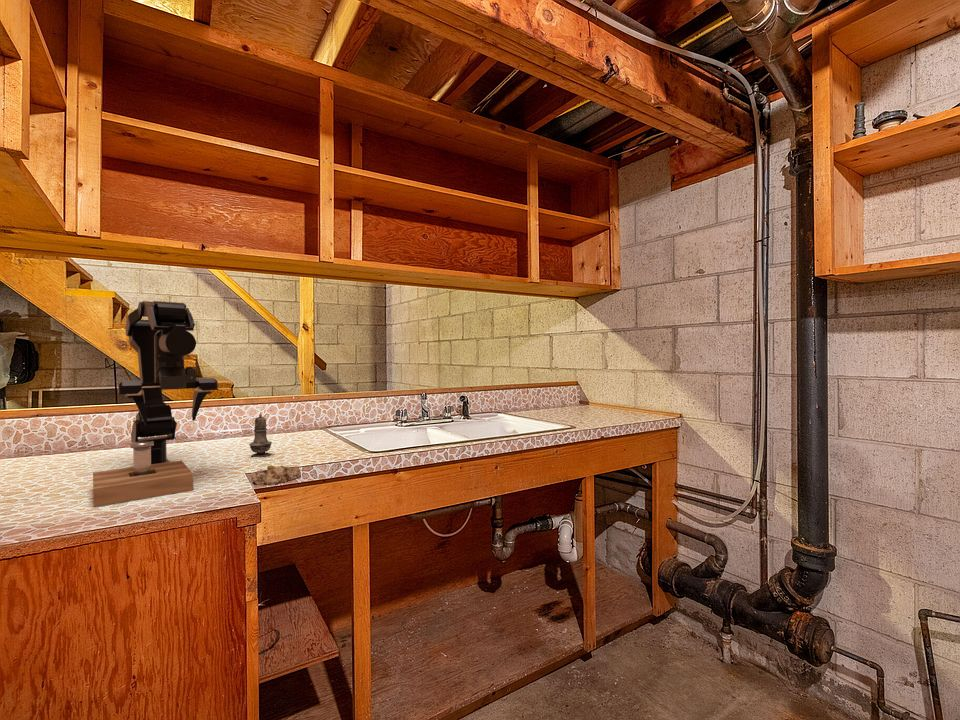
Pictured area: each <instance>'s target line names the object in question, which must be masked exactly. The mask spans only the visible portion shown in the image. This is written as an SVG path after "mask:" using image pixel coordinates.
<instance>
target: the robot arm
mask: <svg viewBox="0 0 960 720" xmlns="http://www.w3.org/2000/svg"><path fill="white" fill-rule="evenodd" d="M143 318H147V319H143ZM195 325H196V323H195V321H194V317H193V315H192V312H191V311H190V309H189V307H187V304H185V303H184V302H176V301H161V300H153V301H149V300H148V301H147V300H142V301H139V302H138V305H137V308H136V309H134V310H133V311H131V312H130V313H129V314H127V317H126V321H125V336H126V337H128V341H129V342H128V343H129V346H130V347H132V349H133V350H134V351H135V352H136V353H137V360H138V361H137V362H138V372H139V379H131V380H129V379H128V380H127V379H126V380H125V379H124V380H120V381H119V382H118V383H117V384H118V385H117V392H118V395H125V397H126V399H132V401H133V402H134V404H135V405H136V407H137V409H138V411H137V413H136V415H135V420H133V424H132V428H131V433H130V437H131V440H130V441H131V443H134V442H140V441H154V446H151V464H158V463H166V462H170V461H169V459H168V457H167V441H173V440H175V439H176V431H177V426H178V425H177V424H178V422H177V421H176V420H175V419H176V418H175V417H174V416H173V413H172V407H171V406H170V405H169V404H167V403H165V401H164V399H163V398H164V397H163V391H165V390H166V391H167V390H185V389H187V390H188V389H195V390H193V396H192V409H191V420H192V421H193V422H194V421H196V419H197V416H198V412H199V410H200V407H201V405H202V403H203V401H204V399H205V397H206V396H207V395H209V394H210V395H211V394H212V391H218V390H219V388H218V387H219V383H218V380H217V379H216V378H214V377H197V367H196V366H185V356H187V355H190V354H192V353H193V352H194V350H195V348H196V346H197V340H196V338H195V336H194V334H192V333H191V332H193V331H194V329H195ZM190 331H191V332H190Z"/></svg>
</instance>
